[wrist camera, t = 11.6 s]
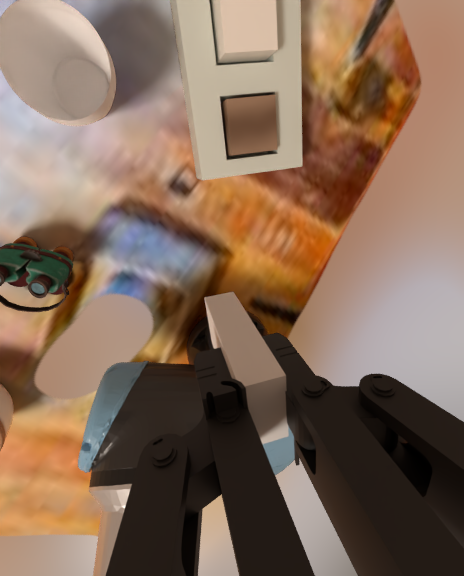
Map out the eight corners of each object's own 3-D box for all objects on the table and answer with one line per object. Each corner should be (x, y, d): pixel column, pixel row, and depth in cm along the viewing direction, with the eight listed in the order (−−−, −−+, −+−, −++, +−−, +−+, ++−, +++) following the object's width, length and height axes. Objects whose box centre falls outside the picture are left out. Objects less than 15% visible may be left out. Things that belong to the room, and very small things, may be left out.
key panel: (287, 165, 46) (302, 166, 41) (196, 178, 43) (202, 180, 39) (278, -141, 32) (298, -189, 28) (147, -149, 30) (147, -202, 26)
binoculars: (-38, 332, 34) (-35, 255, 30) (4, 288, 43) (10, 224, 39) (50, 346, 37) (63, 277, 34) (71, 302, 46) (83, 244, 43)
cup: (88, 27, 34) (61, -32, 23) (138, 108, 38) (134, 89, 27) (22, 70, 34) (-36, 30, 23) (78, 147, 38) (51, 142, 27)
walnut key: (266, 150, 42) (277, 149, 38) (225, 155, 41) (232, 155, 37) (263, 100, 39) (275, 94, 36) (219, 104, 38) (226, 99, 35)
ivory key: (265, 60, 36) (277, 49, 33) (217, 63, 35) (225, 53, 32) (262, -5, 34) (275, -24, 30) (210, -3, 33) (217, -23, 29)
